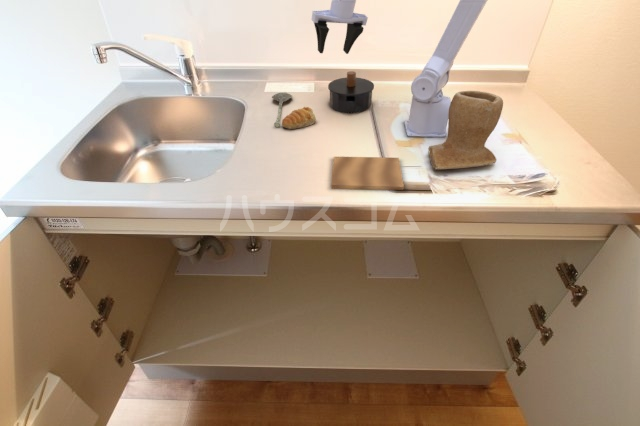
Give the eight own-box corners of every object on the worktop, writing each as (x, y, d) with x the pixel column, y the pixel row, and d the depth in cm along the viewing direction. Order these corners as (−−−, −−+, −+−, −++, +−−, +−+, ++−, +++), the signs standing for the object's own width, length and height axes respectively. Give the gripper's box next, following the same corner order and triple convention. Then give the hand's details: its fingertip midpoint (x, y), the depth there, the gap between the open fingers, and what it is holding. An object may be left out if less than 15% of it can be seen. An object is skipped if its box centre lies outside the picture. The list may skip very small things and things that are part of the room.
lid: (372, 80, 99) (374, 65, 96) (374, 98, 89) (376, 81, 86) (329, 80, 101) (329, 65, 97) (326, 98, 90) (326, 81, 87)
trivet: (398, 161, 74) (398, 157, 73) (403, 190, 66) (404, 186, 65) (333, 160, 75) (333, 156, 75) (331, 188, 67) (331, 184, 66)
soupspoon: (293, 98, 105) (274, 99, 105) (292, 87, 103) (272, 89, 103) (288, 126, 88) (265, 128, 88) (287, 115, 86) (263, 117, 86)
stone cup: (475, 143, 79) (495, 81, 69) (500, 170, 70) (528, 104, 60) (415, 148, 78) (427, 87, 68) (434, 176, 69) (451, 110, 59)
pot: (369, 93, 104) (371, 76, 101) (371, 117, 91) (373, 99, 87) (331, 93, 105) (331, 76, 102) (328, 117, 92) (327, 99, 88)
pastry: (290, 133, 85) (289, 120, 83) (277, 125, 89) (275, 112, 87) (318, 122, 90) (317, 109, 87) (303, 115, 94) (302, 102, 91)
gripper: (364, -10, 80) (350, 45, 90) (311, -16, 75) (303, 44, 85) (377, 1, 76) (361, 57, 86) (321, -4, 71) (312, 57, 81)
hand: (333, 51), depth 86 cm, fingers open, 7 cm apart
